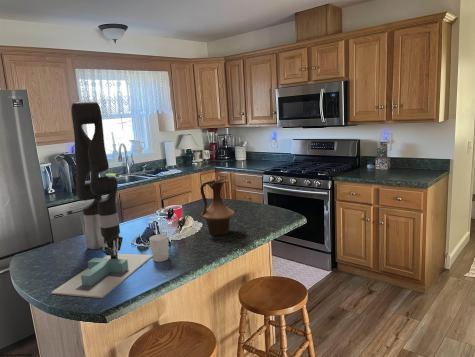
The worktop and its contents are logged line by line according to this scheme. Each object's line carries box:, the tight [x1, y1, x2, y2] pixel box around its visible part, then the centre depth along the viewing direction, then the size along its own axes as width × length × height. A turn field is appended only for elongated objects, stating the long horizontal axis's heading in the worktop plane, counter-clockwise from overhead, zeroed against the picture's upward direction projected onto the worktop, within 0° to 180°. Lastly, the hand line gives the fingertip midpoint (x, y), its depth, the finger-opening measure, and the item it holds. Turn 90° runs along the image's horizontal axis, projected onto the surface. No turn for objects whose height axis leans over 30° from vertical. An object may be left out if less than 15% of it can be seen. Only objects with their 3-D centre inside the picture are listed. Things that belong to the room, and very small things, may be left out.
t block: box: [81, 257, 128, 286], centre depth 147 cm, size 16×16×4 cm
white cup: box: [148, 233, 169, 263], centre depth 161 cm, size 8×8×10 cm
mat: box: [50, 253, 153, 299], centre depth 151 cm, size 22×37×1 cm, turn 164°
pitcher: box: [200, 179, 235, 236], centre depth 189 cm, size 18×17×28 cm
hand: (114, 262), depth 157 cm, fingers closed
